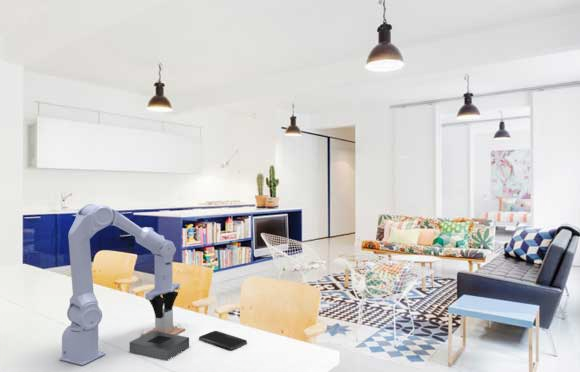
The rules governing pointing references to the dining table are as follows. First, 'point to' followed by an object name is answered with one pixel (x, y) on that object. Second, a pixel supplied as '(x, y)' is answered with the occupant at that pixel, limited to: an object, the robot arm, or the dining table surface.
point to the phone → (223, 340)
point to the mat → (174, 332)
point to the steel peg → (164, 321)
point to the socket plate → (159, 345)
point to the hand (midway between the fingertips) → (163, 315)
